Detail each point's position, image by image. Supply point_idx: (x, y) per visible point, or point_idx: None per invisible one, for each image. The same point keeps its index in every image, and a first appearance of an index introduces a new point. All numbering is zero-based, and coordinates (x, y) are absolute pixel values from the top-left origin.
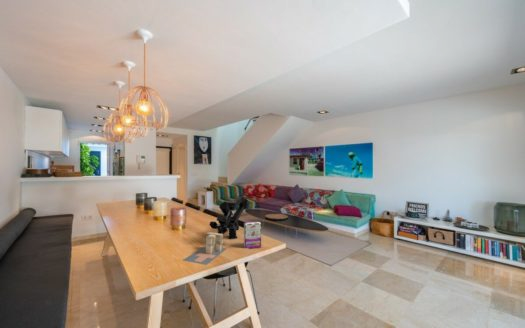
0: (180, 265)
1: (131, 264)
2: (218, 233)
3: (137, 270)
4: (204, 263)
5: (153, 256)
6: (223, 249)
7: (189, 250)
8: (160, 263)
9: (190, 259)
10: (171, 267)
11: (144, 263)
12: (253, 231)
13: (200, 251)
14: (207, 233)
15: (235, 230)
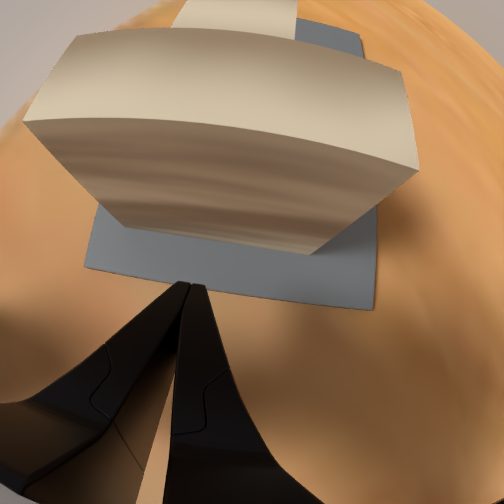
0: (330, 11)
1: (487, 57)
2: (121, 114)
3: (436, 17)
4: None
5: (501, 107)
6: (115, 229)
7: (438, 181)
8: (425, 39)
9: (321, 36)
10: (354, 5)
11: (468, 54)
12: None
13: None
14: (399, 90)
15: None
